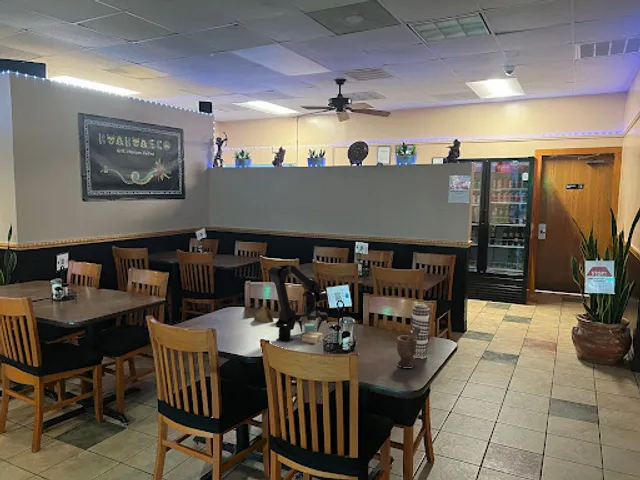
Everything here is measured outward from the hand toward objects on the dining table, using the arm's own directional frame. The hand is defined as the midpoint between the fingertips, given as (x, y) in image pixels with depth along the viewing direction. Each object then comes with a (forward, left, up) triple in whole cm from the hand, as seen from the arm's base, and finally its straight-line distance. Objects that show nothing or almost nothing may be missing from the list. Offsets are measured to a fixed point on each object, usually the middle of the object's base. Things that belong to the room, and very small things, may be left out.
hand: (309, 331), depth 260 cm
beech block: (-9, -7, -1) cm, 11 cm away
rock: (+6, +35, -1) cm, 35 cm away
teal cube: (0, 0, -1) cm, 1 cm away
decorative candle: (-1, -61, -1) cm, 61 cm away
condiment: (+13, +23, -1) cm, 26 cm away
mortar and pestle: (-18, -62, -1) cm, 65 cm away
